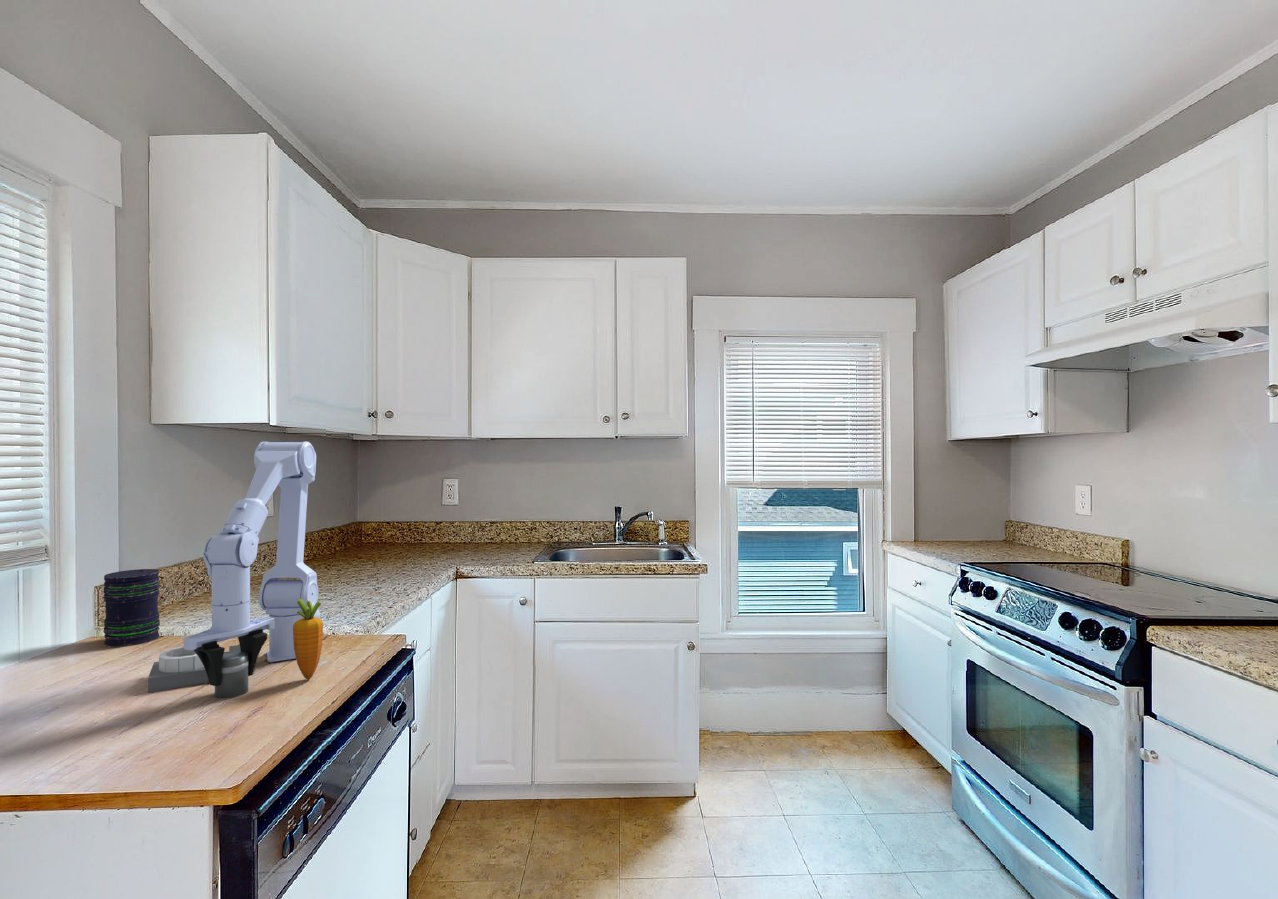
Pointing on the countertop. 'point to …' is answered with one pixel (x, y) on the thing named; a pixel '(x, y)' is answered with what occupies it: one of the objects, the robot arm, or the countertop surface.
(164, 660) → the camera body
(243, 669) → the lens
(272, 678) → the countertop surface
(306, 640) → the carrot
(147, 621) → the storage jar
